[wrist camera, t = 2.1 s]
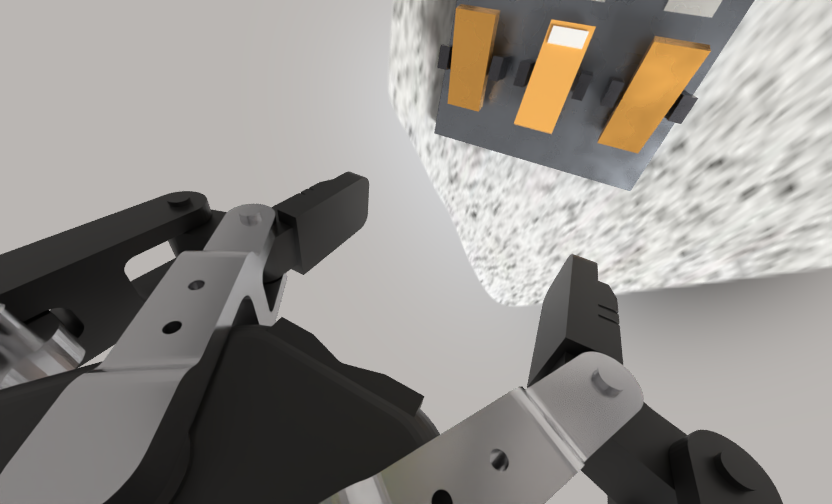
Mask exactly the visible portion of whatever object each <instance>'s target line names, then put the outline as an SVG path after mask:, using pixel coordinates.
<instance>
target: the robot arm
mask: <svg viewBox="0 0 832 504" xmlns="http://www.w3.org/2000/svg"><path fill="white" fill-rule="evenodd" d="M368 197H369V181H368V179H367V178H365V177H363V176H360V175H357V174H354V173H352V172H346V173H344V174H342V175H340V176H338V177H337V178H335V179H332V180H328V181H323V182H319V183H317V184H316V185H314V186H312V187H310V188H309V189H306V190H304V191H302V192H301V194H300V193H299V194H296V195H294V196H293V197H290V198H289V199H287V200H285V201H283V202H281V203H279V204H277V205H275V206H273V207H272V208H271V207H269V206H266V205H261V204H246V205H241V206H238V207H235V208H233V209H231V210H230V211H228V212H222V211H216V210H211V209H210V207H209V204H208V201H207V198H206V197H205V195H203V194H201V193H198V192H192V191H191V192H190V191H182V192H175V193H170V194H167V195H164V196H161V197H158V198H155V199H153V200H150V201H147V202H144V203H142V204H139V205H136V206H133V207H131V208H128V209H125V210H123V211H120V212H117V213H114V214H111V215H108V216H106V217H103V218H100V219H97V220H95V221H92V222H89V223H86V224H84V225H81V226H79V227H75V228H73V229H70V230H67V231H64V232H62V233H59V234H56V235H54V236H51V237H48V238H45V239H42V240H40V241H37V242H34V243H31V244H29V245H26V246H23V247H21V248H18V249H15V250H12V251H10V252H7V253H4V254H1V255H0V504H544V503H546V502H547V501H548V500H549V499H550V498H551V497H552V496H553V495H554V494H555V493H556V492H557V491H558V490H559V489H561V488H562V487H563V486H564V485H565V484H566V483H567V482H568V481H569V480H570V479H571V478H572V477H573V476H574V475H575V474H576V473H578V471H580V470H581V471H582V472H583V473H584V474H585V475H587V476H588V477H589V478H590V479H591V480H592V481H593V482H594V483H595V484H596V485H597V486H599V487H600V488H601V489H602V490H603V491H604V492H605V493H606V494H607V495H608V504H783V503H782V500H781V498H780V495H779V493H778V491H777V489H776V487H775V485H774V484H773V482H772V481H771V479H770V477H769V476H768V475H767V473H766V472H765V471H764V470H763V468H762V467H761V466H760V465H759V464H758V463H757V462H756V461H755V460H754V459H753V458H752V457H751V456H750V455H749V454H748V453H747V452H746V451H745V450H743V449H742V448H741V447H739V446H738V445H737V444H736V443H734V442H733V441H731V440H729V439H728V438H726V437H724V436H722V435H720V434H718V433H715V432H712V431H708V430H698V431H695V432H693V433H691V434H689V435H686V434H685V433H683V432H682V431H681V430H679V429H678V428H677V427H675V426H674V425H673V424H671V423H670V422H669V421H667V420H666V419H664V418H663V417H662V416H660V415H659V414H658V413H656V412H655V411H654V410H652V409H651V408H650V407H649V406H648V405H647V404H645V403H644V402H643V393H642V390H641V387H640V385H639V384H638V382H637V381H636V379H635V377H634V376H633V375H632V374H631V373H630V372H629V371H628V370H627V369H626V368H625V367H624V366H623V358H622V348H621V347H622V346H621V337H620V326H619V325H618V324H619V315H618V314H617V313H618V304H617V298H616V296H615V295H614V293H613V291H612V290H611V288H610V286H609V285H608V284H605V283H602V282H600V281H598V266H597V263H595V262H593V261H590V260H587V259H584V258H582V257H579V256H576V255H574V254H571V255H570V256H569V257H568V258H567V260H566V262H565V263H564V265H563V267H562V268H561V270H560V272H559V273H558V275H557V277H556V278H555V280H554V282H553V283H552V285H551V286H550V288H549V290H548V292H547V294H546V296H545V299H544V302H543V306H542V311H541V316H540V322H539V327H538V332H537V337H536V343H535V348H534V353H533V358H532V363H531V369H530V374H529V379H528V384H527V389H524V388H523V387H518V388H515V389H514V390H512V391H510V392H508V393H507V394H505V395H504V396H502V397H500V398H499V399H497V400H495V401H494V402H492V403H491V404H489V405H487V406H486V407H484V408H483V409H481V410H479V411H478V412H476V413H474V414H473V415H472V416H470V417H468V418H466V419H465V420H463V421H462V422H460V423H458V424H457V425H455V426H454V427H452V428H450V429H449V430H447V431H445V432H444V433H442V434H441V435H440V434H439V432H438V430H437V429H436V427H435V426H434V424H433V423H432V422H431V420H430V419H429V418H428V417H427V416H426V415H425V413H424V412H423V411H422V410H420V407H421V404H422V401H423V398H424V396H423V395H421V394H419V393H417V392H415V391H414V390H412V389H410V388H408V387H406V386H405V385H403V384H401V383H399V382H397V381H396V380H394V379H392V378H390V377H389V376H387V375H385V374H381V373H377V372H373V371H370V370H366V369H362V368H358V367H354V366H350V365H347V364H343V363H341V362H340V361H338V360H337V359H336V358H335V357H334V355H333V354H332V353H331V352H330V351H328V349H327V348H326V347H325V346H324V345H323V344H322V343H321V342H320V341H319V340H318V339H317V338H316V337H315V336H314V335H313V334H312V333H310V332H308V331H306V330H304V329H303V328H301V327H299V326H297V325H295V324H294V323H292V322H290V321H288V320H286V319H285V318H283V317H281V318H280V319H279V320H278V321H277V322H276V318H277V314H278V310H279V307H280V303H281V299H282V296H283V292H284V288H285V284H286V280H287V275H286V272H287V271H289V270H290V269H292V270H295V271H297V272H299V273H301V274H303V275H304V274H305V273H307V272H308V271H309V270H310V269H312V268H313V267H314V266H315V265H317V264H318V263H319V262H320V261H321V260H323V259H324V258H325V257H326V256H327V255H329V254H330V253H331V252H333V251H334V250H335V249H336V248H337V247H339V246H340V245H341V244H342V243H344V242H345V241H346V240H347V239H348V238H350V237H351V236H352V235H353V234H355V233H356V232H357V231H358V230H360V229H361V228H362V227H363V225H364V223H365V222H366V219H367V215H368ZM166 241H168V242H169V244H170V246H171V248H172V250H173V252H174V254H175V256H176V258H175V259H173V260H171V261H169V262H167V263H165V264H163V265H162V266H160V267H158V268H155V269H154V270H152V271H150V272H148V273H146V274H144V275H142V276H140V277H138V278H136V279H134V280H133V281H131V282H130V281H129V279H128V277H127V276H126V274H125V272H124V267H125V265H126V263H127V262H128V260H130V259H131V258H132V257H134V256H136V255H138V254H140V253H142V252H144V251H146V250H149V249H151V248H153V247H155V246H157V245H159V244H161V243H163V242H166ZM49 309H51V310H50V311H49ZM113 345H115V346H114V347H113V348H112V350H111V351H110V353H109V354H108V356H107V357H106V358H105V360H104V361H103V362H99V363H95V364H92V365H88V366H84V367H81V368H78V367H80V366H81V365H83V364H85V363H86V362H88V361H89V360H91V359H93V358H94V357H96V356H97V355H99V354H100V353H102V352H103V351H105V350H107V349H108V348H110V347H111V346H113Z"/></svg>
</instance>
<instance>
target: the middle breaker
mask: <svg viewBox="0 0 832 504" xmlns="http://www.w3.org/2000/svg"><path fill="white" fill-rule="evenodd" d="M595 28H596V27H595V26H589V25H583V24H577V23H571V22H565V21H558V20H552V19H551V22H550V25H549V28H548V30H547V33H546V36H545V39H544V41H543V44H542V47H541V50H540V53H539V55H538V58H537V61H536V64H535V66H534V69H533V72H532V75H531V77H530V80H529V83H528V86H527V88H526V91H525V94H524V97H523V99H522V102H521V105H520V108H519V110H518V113H517V116H516V119H515V121H514V124H515V125H518V126H522V127H526V128H530V129H534V130H537V131H541V132H545V133H549V134H552V132H553V129H554V127H555V125H556V122H557V120H558V117H559V115H560V112H561V110H562V108H563V105H564V103H565V100H566V98H567V96H568V93H569V91H570V88H571V86H572V84H573V81H574V79H575V76H576V74H577V71H578V69H579V67H580V64H581V62H582V59H583V57H584V55H585V52H586V50H587V47H588V45H589V43H590V40H591V38H592V35H593V33H594V30H595Z"/></svg>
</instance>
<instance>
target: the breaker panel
mask: <svg viewBox="0 0 832 504" xmlns="http://www.w3.org/2000/svg"><path fill="white" fill-rule="evenodd" d="M753 2H754V0H457V4H456V10H455V15H454V21H453V27H452V33H451V39H450V45H441V49H440V55H439V62H438V68H441V69H445V74H444V80H443V86H442V92H441V98H440V103H439V109H438V115H437V121H436V127H435V134H439V135H442V136H445V137H449V138H452V139H455V140H459V141H462V142H466V143H469V144H472V145H476V146H479V147H483V148H486V149H489V150H493V151H496V152H500V153H503V154H506V155H510V156H513V157H516V158H520V159H523V160H527V161H530V162H533V163H537V164H540V165H544V166H547V167H550V168H554V169H557V170H561V171H564V172H567V173H571V174H574V175H577V176H581V177H584V178H588V179H591V180H594V181H598V182H601V183H605V184H608V185H611V186H615V187H618V188H622V189H625V190H628V191H631V189H632V188H633V186H634V185H635V183H636V182H637V180H638V179H639V177H640V175H641V174H642V172H643V171H644V169H645V168H646V166H647V165H648V163H649V162H650V160H651V159H652V157H653V155H654V154H655V152H656V151H657V149H658V148H659V146H660V145H661V143H662V142H663V140H664V139H665V137H666V136H667V134H668V132H669V131H670V129H671V128H672V126H673V125H674V123H679V124H681V123H682V122H683V120H684V119H685V117H686V116H687V114H688V113H689V111H690V110H691V108H692V107H693V105H694V104H695V102H696V101H697V99H698V98H697V97H695V96H693V94H694V92H695V91H696V89H697V88H698V86H699V85H700V83H701V82H702V80H703V79H704V77H705V76H706V74H707V72H708V71H709V69H710V68H711V66H712V65H713V63H714V62H715V60H716V59H717V57H718V56H719V54H720V53H721V51H722V49H723V48H724V46H725V45H726V43H727V42H728V40H729V39H730V37H731V36H732V34H733V33H734V31H735V29H736V28H737V26H738V25H739V23H740V22H741V20H742V19H743V17H744V16H745V14H746V13H747V11H748V9H749V8H750V6H751V5H752V3H753ZM551 19H552V20H558V21H565V22H571V23H577V24H583V25H589V26H595V27H596V28H595V30H594V33H593V35H592V38H591V40H590V43H589V45H588V47H587V50H586V52H585V55H584V57H583V59H582V62H581V64H580V67H579V69H578V71H577V74H576V76H575V79H574V81H573V84H572V86H571V88H570V91H569V93H568V96H567V98H566V100H565V103H564V105H563V108H562V110H561V112H560V115H559V117H558V120H557V122H556V125H555V127H554V129H553V132H552V134H549V133H545V132H541V131H537V130H534V129H530V128H526V127H522V126H518V125H515V124H514V121H515V119H516V116H517V113H518V110H519V108H520V105H521V102H522V99H523V97H524V94H525V91H526V88H527V86H528V83H529V80H530V77H531V75H532V72H533V69H534V66H535V64H536V61H537V58H538V55H539V53H540V50H541V47H542V44H543V41H544V39H545V36H546V33H547V30H548V28H549V25H550V22H551Z"/></svg>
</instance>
